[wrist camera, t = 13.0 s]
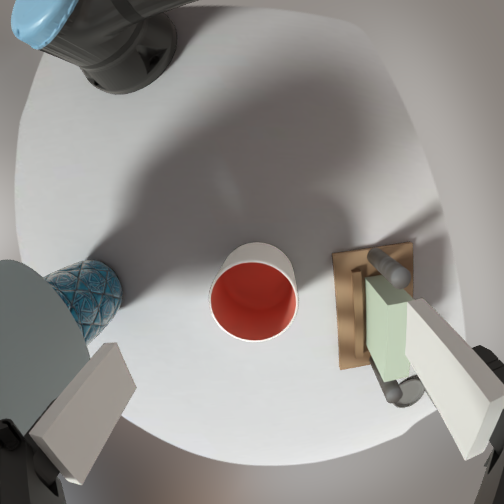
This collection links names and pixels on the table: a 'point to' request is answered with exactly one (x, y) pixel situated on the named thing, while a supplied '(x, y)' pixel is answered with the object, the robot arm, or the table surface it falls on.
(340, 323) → the hinge board
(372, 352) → the door
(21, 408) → the lamp
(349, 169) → the table surface
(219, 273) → the cup
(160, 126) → the table surface
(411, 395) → the pocket watch
